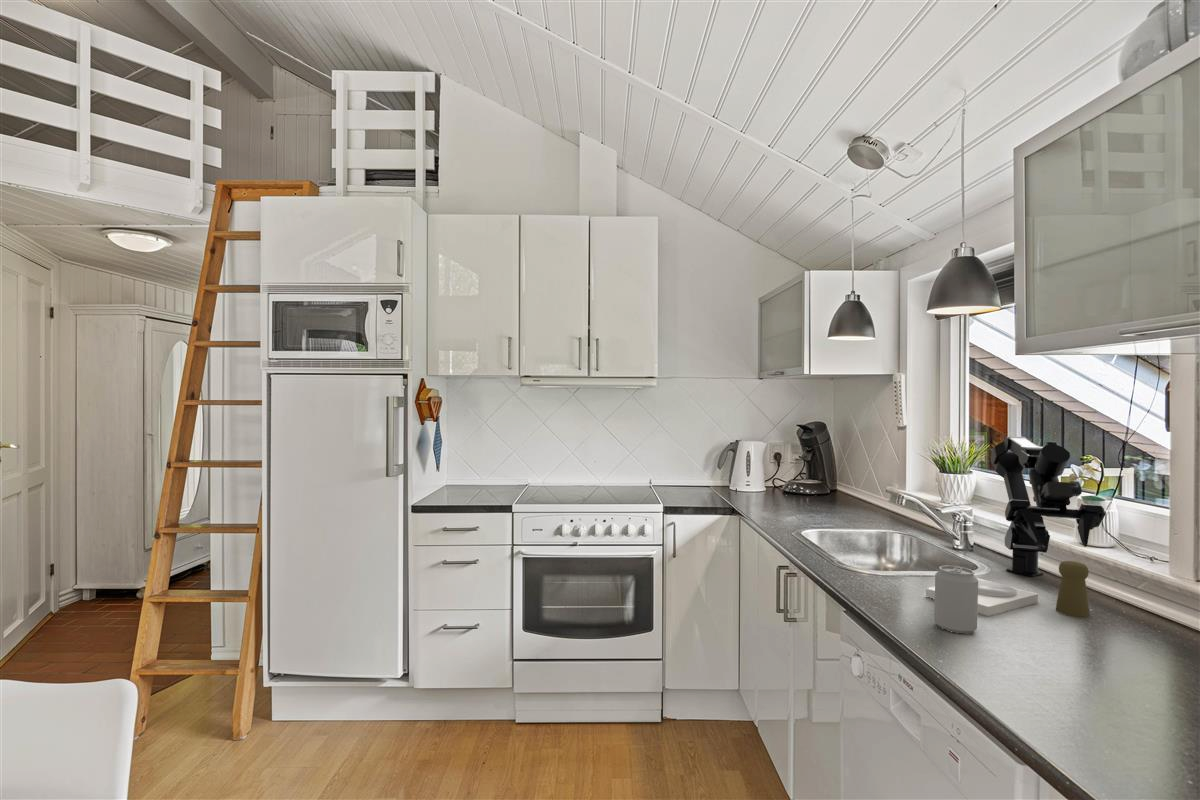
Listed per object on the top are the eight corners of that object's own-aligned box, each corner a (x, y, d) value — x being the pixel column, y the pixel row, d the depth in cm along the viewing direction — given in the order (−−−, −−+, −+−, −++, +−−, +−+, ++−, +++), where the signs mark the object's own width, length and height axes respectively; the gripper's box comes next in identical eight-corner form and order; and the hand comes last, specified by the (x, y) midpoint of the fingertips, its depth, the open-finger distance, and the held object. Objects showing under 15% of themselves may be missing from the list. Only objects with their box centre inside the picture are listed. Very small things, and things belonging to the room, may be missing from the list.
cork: (1096, 618, 132) (1097, 566, 132) (1064, 616, 133) (1065, 564, 133) (1080, 609, 138) (1081, 559, 138) (1049, 606, 139) (1051, 557, 139)
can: (928, 627, 125) (930, 568, 124) (940, 619, 130) (941, 561, 130) (971, 638, 119) (972, 576, 119) (981, 629, 125) (983, 569, 125)
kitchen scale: (975, 585, 154) (976, 575, 154) (1038, 602, 142) (1038, 591, 142) (925, 597, 144) (926, 585, 144) (988, 616, 132) (988, 604, 132)
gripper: (1009, 465, 150) (1022, 520, 140) (1103, 470, 144) (1123, 527, 134) (999, 493, 158) (1011, 547, 148) (1088, 499, 152) (1106, 555, 141)
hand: (1061, 543), depth 142 cm, fingers open, 9 cm apart
